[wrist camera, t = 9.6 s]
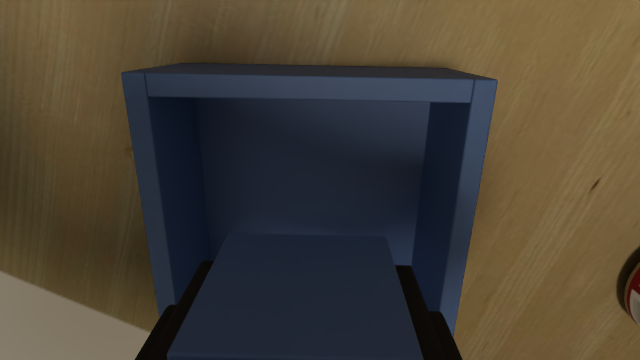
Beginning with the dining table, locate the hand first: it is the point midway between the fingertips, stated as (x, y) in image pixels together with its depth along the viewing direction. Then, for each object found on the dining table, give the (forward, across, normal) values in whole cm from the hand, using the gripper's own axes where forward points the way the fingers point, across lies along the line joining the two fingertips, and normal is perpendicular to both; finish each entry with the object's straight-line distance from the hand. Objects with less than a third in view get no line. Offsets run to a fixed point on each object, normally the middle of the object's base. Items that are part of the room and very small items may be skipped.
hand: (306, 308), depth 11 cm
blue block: (0, 0, 0) cm, 0 cm away
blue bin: (+10, 0, 0) cm, 10 cm away
